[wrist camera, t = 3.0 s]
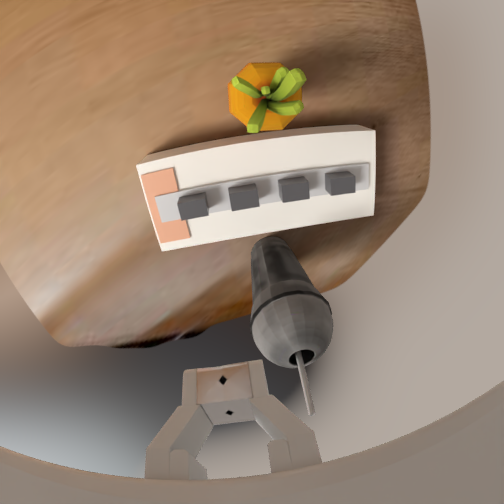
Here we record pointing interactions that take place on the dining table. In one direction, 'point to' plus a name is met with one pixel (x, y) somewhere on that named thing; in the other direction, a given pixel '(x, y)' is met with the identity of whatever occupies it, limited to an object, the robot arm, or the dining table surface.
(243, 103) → the carrot
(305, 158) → the breaker panel
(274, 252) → the beverage cup
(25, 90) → the dining table surface
